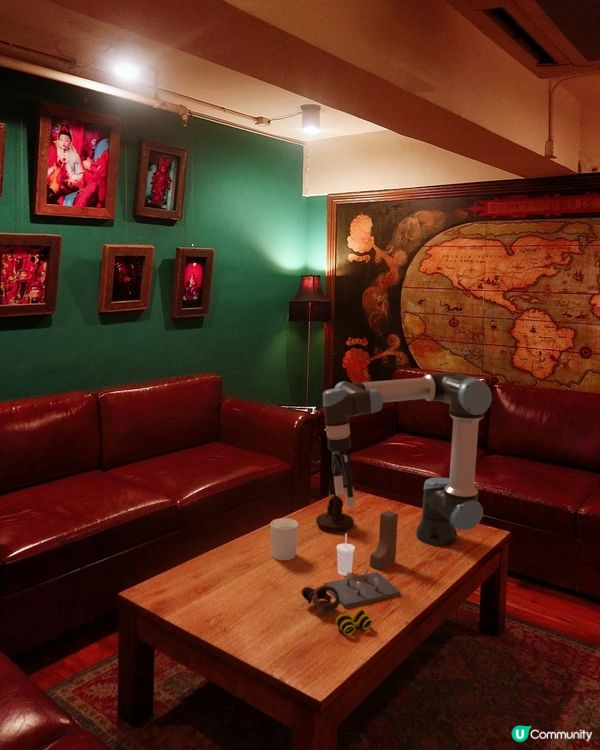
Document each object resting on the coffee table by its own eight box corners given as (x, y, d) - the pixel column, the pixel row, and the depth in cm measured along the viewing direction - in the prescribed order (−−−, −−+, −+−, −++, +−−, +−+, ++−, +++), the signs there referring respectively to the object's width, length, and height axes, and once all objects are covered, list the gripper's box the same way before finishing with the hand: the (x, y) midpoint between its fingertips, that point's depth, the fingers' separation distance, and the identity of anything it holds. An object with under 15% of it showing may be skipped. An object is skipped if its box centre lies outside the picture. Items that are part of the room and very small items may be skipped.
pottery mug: (339, 602, 202) (345, 587, 197) (331, 628, 195) (336, 614, 190) (303, 588, 204) (307, 573, 198) (293, 614, 197) (297, 599, 191)
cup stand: (376, 575, 218) (377, 560, 218) (400, 595, 206) (401, 579, 205) (323, 586, 210) (324, 571, 209) (344, 608, 198) (345, 592, 197)
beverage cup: (334, 567, 223) (336, 529, 220) (352, 567, 223) (354, 529, 221) (336, 576, 217) (338, 537, 214) (354, 576, 217) (356, 537, 215)
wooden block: (379, 570, 222) (382, 520, 218) (369, 566, 225) (371, 516, 221) (395, 562, 228) (398, 513, 225) (385, 558, 231) (387, 509, 228)
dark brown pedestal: (317, 517, 265) (319, 470, 262) (353, 519, 264) (356, 472, 260) (314, 532, 251) (316, 482, 247) (353, 535, 249) (355, 485, 246)
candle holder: (265, 558, 228) (265, 526, 226) (276, 547, 237) (277, 516, 235) (291, 564, 225) (291, 531, 222) (301, 552, 234) (302, 520, 231)
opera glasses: (343, 640, 183) (346, 626, 181) (333, 627, 187) (336, 613, 185) (371, 631, 188) (374, 617, 186) (361, 619, 192) (364, 605, 190)
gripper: (318, 431, 223) (325, 492, 225) (336, 446, 198) (344, 513, 201) (340, 428, 224) (346, 488, 226) (360, 442, 200) (367, 509, 202)
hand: (345, 500), depth 213 cm, fingers open, 13 cm apart
